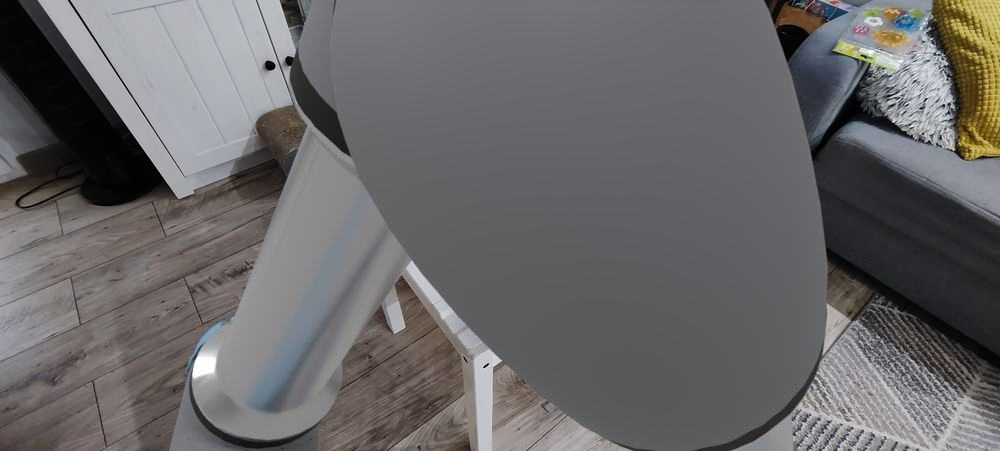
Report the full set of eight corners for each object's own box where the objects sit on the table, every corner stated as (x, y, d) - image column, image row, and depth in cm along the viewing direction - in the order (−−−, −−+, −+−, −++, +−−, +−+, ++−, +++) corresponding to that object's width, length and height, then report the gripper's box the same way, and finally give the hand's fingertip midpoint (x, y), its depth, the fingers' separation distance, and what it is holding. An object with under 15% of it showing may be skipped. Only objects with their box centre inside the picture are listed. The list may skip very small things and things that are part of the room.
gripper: (516, 384, 56) (415, 279, 66) (636, 275, 68) (535, 200, 78) (519, 357, 51) (409, 246, 61) (650, 243, 62) (538, 166, 73)
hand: (479, 220), depth 70 cm, fingers open, 13 cm apart
